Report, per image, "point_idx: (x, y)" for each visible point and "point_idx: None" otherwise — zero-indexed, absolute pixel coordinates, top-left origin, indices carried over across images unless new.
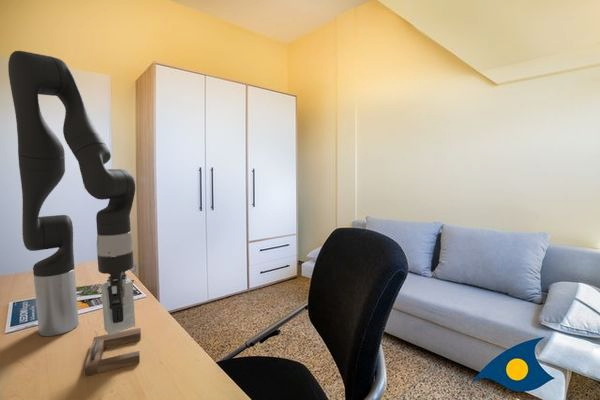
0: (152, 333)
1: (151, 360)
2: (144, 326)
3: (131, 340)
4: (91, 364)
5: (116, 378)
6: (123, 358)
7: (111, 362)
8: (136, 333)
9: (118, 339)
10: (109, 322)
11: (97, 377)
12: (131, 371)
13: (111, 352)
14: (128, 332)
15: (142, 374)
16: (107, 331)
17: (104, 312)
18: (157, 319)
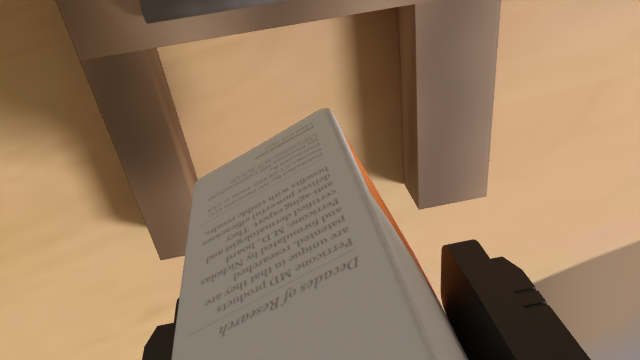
0: (450, 225)
1: (179, 273)
2: (556, 170)
3: (405, 147)
4: (89, 16)
5: (34, 159)
6: (138, 193)
7: (112, 134)
8: (421, 191)
9: (412, 91)
10: (187, 266)
11: (49, 53)
12: (93, 212)
13: (320, 57)
14: (458, 142)
15: (62, 263)
16: (233, 165)
17: (300, 254)
18: (600, 217)
